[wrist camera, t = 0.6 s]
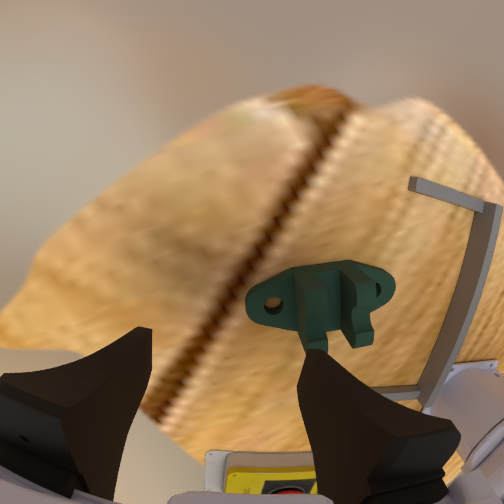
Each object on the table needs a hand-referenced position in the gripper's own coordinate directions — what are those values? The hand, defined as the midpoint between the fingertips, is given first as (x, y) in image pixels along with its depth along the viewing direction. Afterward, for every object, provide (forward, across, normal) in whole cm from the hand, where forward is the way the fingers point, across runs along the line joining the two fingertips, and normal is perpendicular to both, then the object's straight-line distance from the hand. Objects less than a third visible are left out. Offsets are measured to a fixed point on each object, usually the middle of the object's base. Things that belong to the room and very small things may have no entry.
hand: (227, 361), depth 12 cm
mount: (+10, -6, 0) cm, 12 cm away
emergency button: (+10, -7, +22) cm, 25 cm away
